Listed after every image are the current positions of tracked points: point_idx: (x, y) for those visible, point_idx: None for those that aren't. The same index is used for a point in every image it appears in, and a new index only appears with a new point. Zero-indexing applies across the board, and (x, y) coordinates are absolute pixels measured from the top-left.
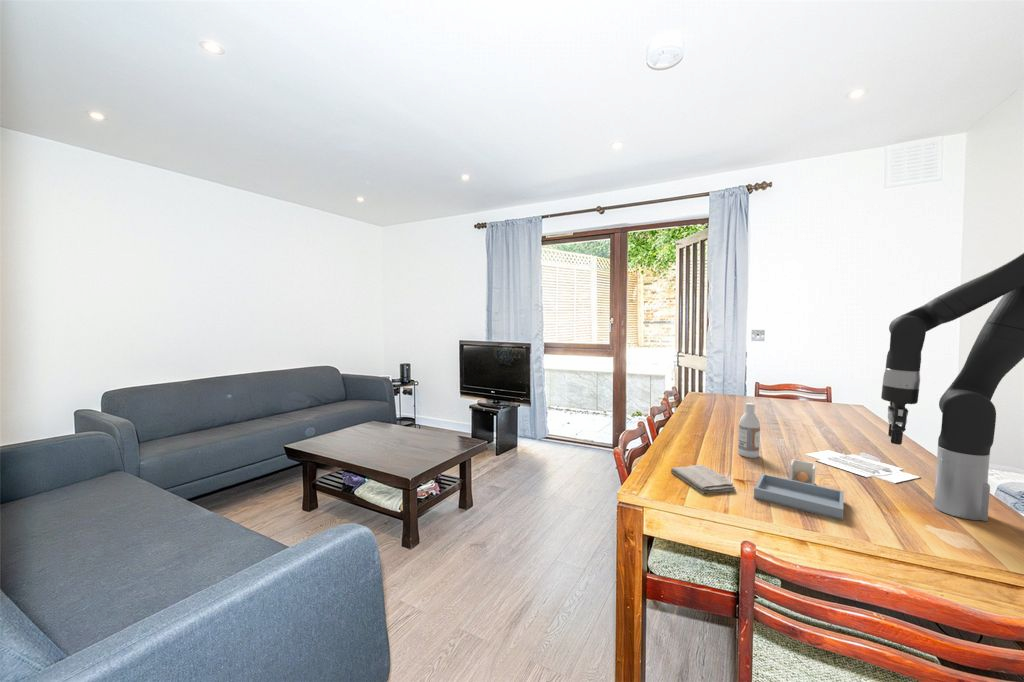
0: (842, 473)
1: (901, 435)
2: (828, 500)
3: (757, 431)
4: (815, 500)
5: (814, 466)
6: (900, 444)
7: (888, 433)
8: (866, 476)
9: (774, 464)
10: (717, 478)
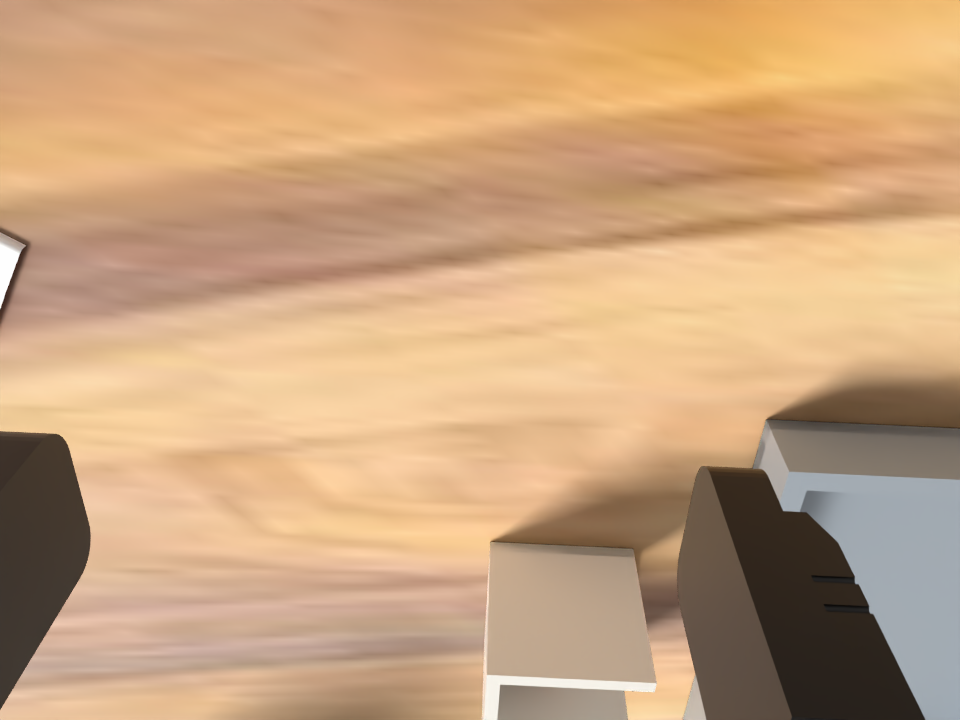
0: (70, 391)
1: (822, 643)
2: (843, 499)
3: None
4: (883, 554)
5: (577, 681)
6: (755, 473)
7: (57, 597)
8: (2, 247)
9: (257, 705)
10: None
